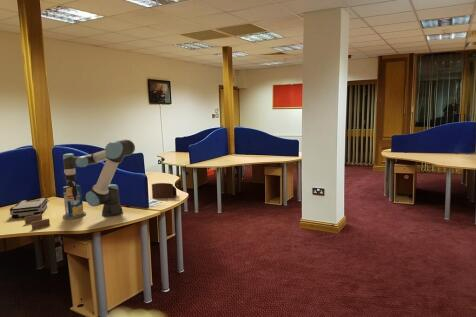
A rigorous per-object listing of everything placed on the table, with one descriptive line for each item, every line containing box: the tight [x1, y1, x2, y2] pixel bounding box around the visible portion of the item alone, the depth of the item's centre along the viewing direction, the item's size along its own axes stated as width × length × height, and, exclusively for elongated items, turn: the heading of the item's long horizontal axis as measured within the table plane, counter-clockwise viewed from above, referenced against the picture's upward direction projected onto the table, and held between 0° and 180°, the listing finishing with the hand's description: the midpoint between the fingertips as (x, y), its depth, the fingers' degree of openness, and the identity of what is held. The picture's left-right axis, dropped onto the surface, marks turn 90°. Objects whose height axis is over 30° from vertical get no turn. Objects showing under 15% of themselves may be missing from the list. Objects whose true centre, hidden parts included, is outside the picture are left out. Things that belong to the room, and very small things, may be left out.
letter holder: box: [151, 182, 178, 199], centre depth 319 cm, size 10×20×14 cm, turn 82°
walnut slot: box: [23, 213, 51, 230], centre depth 251 cm, size 18×11×5 cm, turn 45°
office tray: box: [9, 197, 49, 219], centre depth 285 cm, size 21×32×8 cm, turn 20°
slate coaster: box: [62, 211, 87, 220], centre depth 270 cm, size 16×16×1 cm
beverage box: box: [62, 184, 85, 217], centre depth 268 cm, size 7×11×22 cm, turn 135°
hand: (73, 203), depth 269 cm, fingers open, 7 cm apart
